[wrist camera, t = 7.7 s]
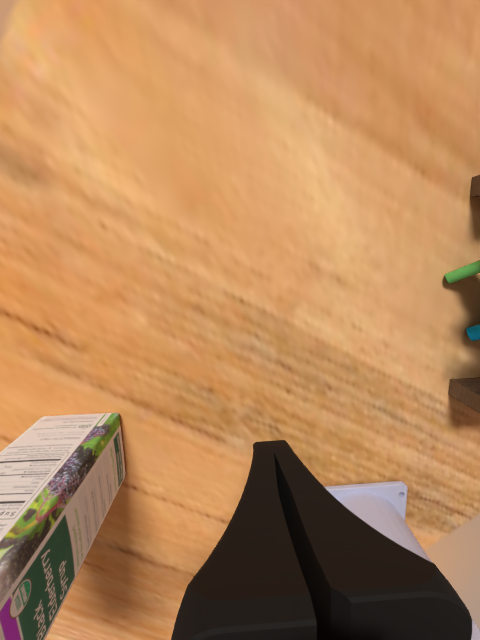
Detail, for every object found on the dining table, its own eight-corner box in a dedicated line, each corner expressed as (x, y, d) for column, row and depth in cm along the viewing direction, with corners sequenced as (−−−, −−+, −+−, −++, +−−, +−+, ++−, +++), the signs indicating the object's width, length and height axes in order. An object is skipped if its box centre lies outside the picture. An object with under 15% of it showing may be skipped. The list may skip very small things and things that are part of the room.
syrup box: (128, 476, 23) (-38, 840, 9) (52, 480, 23) (-247, 857, 8) (120, 410, 21) (-90, 706, 7) (39, 413, 21) (-337, 724, 7)
